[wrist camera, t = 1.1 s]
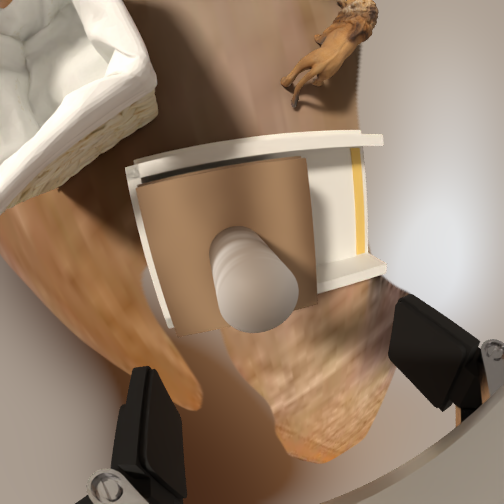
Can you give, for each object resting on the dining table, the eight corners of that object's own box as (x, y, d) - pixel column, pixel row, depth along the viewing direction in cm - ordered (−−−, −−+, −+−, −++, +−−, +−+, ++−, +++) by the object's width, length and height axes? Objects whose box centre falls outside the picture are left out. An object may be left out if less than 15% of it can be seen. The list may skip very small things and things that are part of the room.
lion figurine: (316, 11, 22) (352, -22, 14) (351, 33, 24) (394, 8, 15) (270, 97, 25) (303, 73, 17) (313, 120, 27) (358, 108, 18)
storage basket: (3, 58, 15) (-62, 32, 1) (105, -17, 15) (76, -84, 1) (55, 203, 23) (-30, 240, 10) (178, 119, 24) (163, 72, 10)
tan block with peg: (178, 294, 28) (175, 402, 14) (150, 179, 24) (99, 200, 10) (289, 270, 30) (360, 353, 16) (275, 157, 26) (363, 155, 12)
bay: (172, 309, 30) (170, 334, 25) (135, 160, 24) (123, 159, 20) (363, 263, 34) (385, 278, 29) (355, 130, 28) (381, 127, 23)
